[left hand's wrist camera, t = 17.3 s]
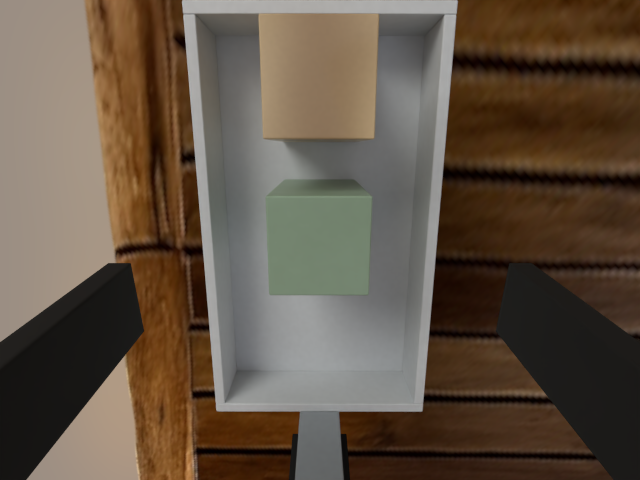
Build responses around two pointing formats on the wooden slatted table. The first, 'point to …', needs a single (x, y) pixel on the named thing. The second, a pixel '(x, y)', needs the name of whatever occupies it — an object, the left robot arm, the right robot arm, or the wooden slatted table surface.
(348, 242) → the sage block
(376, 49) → the birch block
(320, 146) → the tray
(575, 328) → the left robot arm
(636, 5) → the wooden slatted table surface
